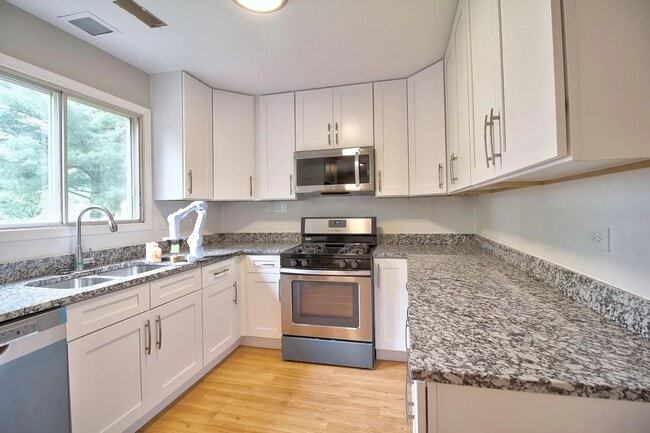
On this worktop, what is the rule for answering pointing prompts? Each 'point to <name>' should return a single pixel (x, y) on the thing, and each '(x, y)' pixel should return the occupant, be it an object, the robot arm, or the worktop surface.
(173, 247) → the sage block
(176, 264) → the plaque
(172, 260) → the walnut base block
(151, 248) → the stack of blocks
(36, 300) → the worktop surface
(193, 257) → the dusty blue block
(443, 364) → the worktop surface
